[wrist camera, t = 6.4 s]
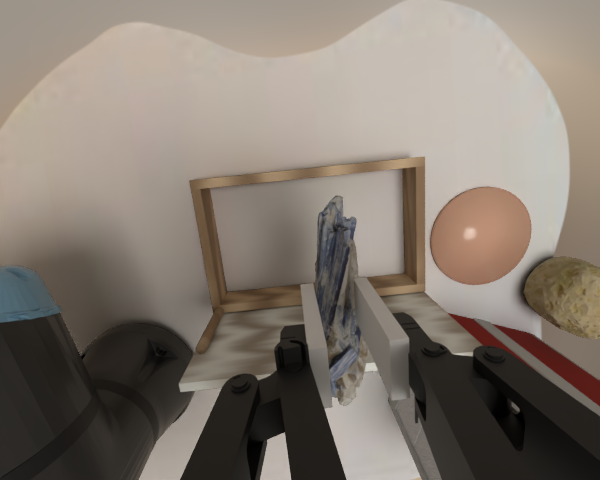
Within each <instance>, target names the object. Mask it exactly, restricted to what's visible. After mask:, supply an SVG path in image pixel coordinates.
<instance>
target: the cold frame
mask: <svg viewBox="0 0 600 480" xmlns="http://www.w3.org/2000/svg"><path fill="white" fill-rule="evenodd" d="M400 168H403V210H404V263H405V273H404V274H395V275H386V276H376V277H367V279H368V281H369V282H370V284H371V285H372V286H373V288H374V289H375V291H376V292H377V294H378V295H379V296H380V298H381V299H382V301H383V302H384V303H385V305H386V306H387V308H388V309H389V310H390V312H391V313H400V312H404V313H406V314H408V315H410V316H412V317H413V318H414V320H415V321H416V322H417V323H418V325H419V326H420V327H421V328H422V329H423V331H424V332H425V333H426V334H427V335H428V337H429V338H430V339H431V340H432V341H433V342H437V343H440V344H442V345H444V346H446V347H447V348H448V349H449V350H450V352H451V353H452V354H455V355H463V356H473V350H474V349H475V348H476V347H479V346H483V345H482V344H481V343H480V342H479V341H478V340H476V339H475V338H474V337H473V336H472V335H471V334H470V333H469V332H468V331H467V330H465V329H464V328H463V327H462V326H461V325H460V324H459V323H458V322H457V321H456V320H454V319H453V318H452V317H451V316H450V315H449V314H448V313H447V312H446V311H445V310H443V309H442V308H441V307H440V306H439V305H438V304H437V303H436V302H435V301H434V300H432V299H431V298H430V297H429V296H428V295H427V294H426V293H425V292H424V291H425V157H416V158H405V159H395V160H386V161H376V162H366V163H356V164H346V165H337V166H327V167H317V168H307V169H297V170H287V171H278V172H268V173H258V174H248V175H238V176H229V177H219V178H209V179H199V180H191V181H190V187H191V192H192V198H193V203H194V209H195V214H196V220H197V225H198V231H199V237H200V242H201V248H202V253H203V259H204V264H205V270H206V275H207V281H208V286H209V292H210V297H211V303H212V308H213V316H212V318H211V320H210V322H209V324H208V325H207V327H206V329H205V331H204V333H203V335H202V337H201V339H200V341H199V343H198V345H197V347H196V351H195V353H194V355H193V357H192V359H191V361H190V363H189V365H188V367H187V369H186V371H185V372H184V374H183V376H182V378H181V380H180V382H179V388H180V392H187V391H196V390H205V389H214V388H222V387H223V385H224V384H225V383H226V381H227V380H229V379H230V378H231V377H233V376H236V375H238V374H244V373H246V374H252V375H254V376H256V378H257V379H258V380H260V379H263V378H266V377H268V376H270V375H271V374H273V373H274V372H275V371H276V370H277V369H276V361H275V354H274V349H275V346H276V345H277V344H278V343H279V342H280V332H281V330H282V329H283V328H284V326H289V325H298V324H304V315H303V305H302V296H301V287H300V285H292V286H282V287H273V288H263V289H254V290H245V291H235V292H227V289H226V283H225V277H224V271H223V265H222V259H221V253H220V247H219V241H218V235H217V229H216V223H215V217H214V211H213V205H212V199H211V193H210V188H214V187H224V186H234V185H243V184H253V183H263V182H273V181H283V180H292V179H302V178H312V177H322V176H331V175H341V174H351V173H361V172H371V171H380V170H390V169H400ZM313 285H314V290H315V283H313ZM369 371H378V369H377V367H376V364H375V362H374V360H373V358H372V355H371V353H370V351H369V349H368V359H367V362H366V367H365V371H364V372H369Z"/></svg>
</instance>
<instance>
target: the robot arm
mask: <svg viewBox="0 0 600 480" xmlns="http://www.w3.org/2000/svg"><path fill="white" fill-rule="evenodd" d="M353 281H354V297H355V314H356V322H357V324H358V326H359V328H360V331H361V333H362V335H363V337H364V340H365V342H366V344H367V346H368V349H369V351H370V353H371V355H372V358H373V360H374V362H375V364H376V367H377V369H378V371H379V373H380V376H381V378H382V380H383V382H384V385H385V387H386V389H387V391H388V394H389V396H390V398H391V401H392V400H401V399H409V398H410V387H411V389H412V391H413V393H414V399H415V423H418V418H419V419H420V422H421V425H422V427H423V430H424V433H425V435H426V438H427V441H428V444H429V446H430V449H431V452H432V454H433V457H434V460H435V463H436V465H437V468H438V471H439V473H440V476H441V479H442V480H600V416H599V415H598V414H596V413H595V412H593V411H592V410H590V409H589V408H588V407H586V406H585V405H583V404H582V403H580V402H579V401H578V400H576V399H575V398H573V397H572V396H571V395H569V394H568V393H566V392H565V391H563V390H562V389H561V388H559V387H558V386H556V385H555V384H553V383H552V382H551V381H549V380H548V379H546V378H545V377H543V376H542V375H541V374H539V373H538V372H536V371H535V370H534V369H532V368H531V367H529V366H528V365H526V364H525V363H524V362H522V361H521V360H519V359H518V358H516V357H515V356H514V355H512V354H511V353H509V352H507V351H506V350H504V349H501V348H498V347H495V346H488V345H486V346H479V347H476V348H475V349H474V350H473V356H463V355H455V354H452V353H451V352H450V350H449V349H448V348H447V347H446V346H444V345H442V344H440V343H437V342H433V341H432V340H431V339H430V338H429V337H428V335H427V334H426V333H425V332H424V331H423V329H422V328H421V327H420V326H419V325H418V323H417V322H416V321H415V320H414V318H413V317H412V316H410V315H408V314H406V313H404V312H400V313H391V312H390V310H389V309H388V308H387V306H386V305H385V303H384V302H383V301H382V299H381V298H380V296H379V295H378V294H377V292H376V291H375V289H374V288H373V286H372V285H371V284H370V282H369V281H368V279H367V278H366V277H364V278H355V279H353ZM300 287H301V296H302V305H303V315H304V324H298V325H289V326H284V328H283V329H282V330H281V332H280V342H279V343H278V344H277V345H276V346H275V349H274V354H275V361H276V369H277V370H276V371H275V372H274V373H273V374H271V375H270V376H268V377H266V378H263V379H260V380H258V379H257V378H256V376H254V375H252V374H246V373H244V374H238V375H236V376H233V377H231V378H230V379H229V380H227V381H226V383H225V384H224V385H223V387H222V389H221V391H220V394H219V396H218V398H217V400H216V402H215V405H214V407H213V409H212V411H211V413H210V416H209V418H208V420H207V422H206V424H205V427H204V429H203V431H202V433H201V435H200V438H199V440H198V442H197V444H196V446H195V449H194V451H193V453H192V455H191V457H190V460H189V462H188V464H187V466H186V468H185V470H184V473H183V475H182V477H181V479H180V480H260V475H261V471H262V466H263V461H264V456H265V451H266V446H267V439H269V438H272V437H274V436H277V435H279V434H281V433H284V432H285V435H286V443H287V450H288V458H289V465H290V473H291V480H346V477H345V474H344V471H343V467H342V464H341V461H340V458H339V455H338V451H337V448H336V445H335V442H334V439H333V435H332V432H331V429H330V426H329V423H328V419H327V416H326V413H325V410H324V408H331V407H332V397H331V385H330V374H329V363H328V351H327V344H326V340H325V335H324V331H323V326H322V322H321V317H320V313H319V308H318V304H317V299H316V295H315V290H314V285H313V283H309V284H300ZM60 312H62V311H61V307H60V306H58V305H56V304H55V302H54V300H53V298H52V297H51V295H50V293H49V291H48V290H47V288H46V286H45V284H44V282H43V281H42V279H41V277H40V276H39V275H38V274H37V273H36V272H35V271H33V270H31V269H29V268H26V267H23V266H15V265H11V266H2V267H0V480H138V479H139V477H140V475H141V473H142V471H143V469H144V466H145V464H146V462H147V460H148V458H149V456H150V454H151V452H152V450H153V448H154V445H155V443H156V441H157V440H158V439H159V438H160V437H161V436H162V434H163V433H164V432H165V431H166V430H167V428H168V427H169V426H170V425H171V424H172V423H174V422H175V421H176V420H177V419H178V418H179V417H180V416H181V415H182V414H183V413H184V412H185V410H186V409H187V407H188V405H189V403H190V401H191V399H192V397H193V394H194V392H195V391H187V392H180V388H179V382H180V380H181V378H182V376H183V374H184V372H185V371H186V369H187V367H188V365H189V363H190V361H191V359H192V357H193V356H192V354H191V352H190V351H189V349H188V348H187V347H186V345H185V344H184V343H183V342H182V341H181V340H180V339H178V338H177V337H176V336H174V335H173V334H171V333H170V332H168V331H166V330H164V329H161V328H158V327H155V326H152V325H147V324H126V325H121V326H117V327H115V328H112V329H110V330H108V331H106V332H105V333H103V334H102V335H100V336H99V337H98V338H97V339H96V340H95V341H94V342H92V343H91V344H90V345H89V346H88V347H87V348H86V349H85V351H84V352H83V353H82V354H81V356H80V354H79V352H78V350H77V348H76V346H75V344H74V342H73V339H72V337H71V335H70V333H69V331H68V329H67V327H66V325H65V323H64V320H63V318H62V316H61V314H60ZM512 402H513V403H514V404H515V405H516V406H517V407H518V408H519V409H520V411H519V412H518V411H517V410H515V409H514V408H513V407H512Z"/></svg>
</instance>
